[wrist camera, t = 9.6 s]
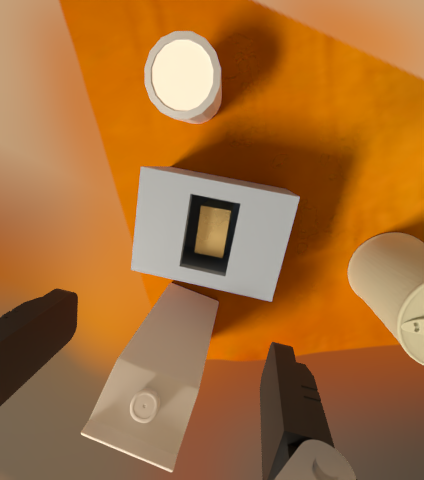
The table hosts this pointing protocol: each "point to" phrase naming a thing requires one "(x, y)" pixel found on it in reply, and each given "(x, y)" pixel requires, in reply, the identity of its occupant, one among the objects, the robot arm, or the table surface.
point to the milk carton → (156, 380)
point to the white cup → (184, 77)
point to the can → (393, 286)
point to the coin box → (186, 226)
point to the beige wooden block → (213, 228)
